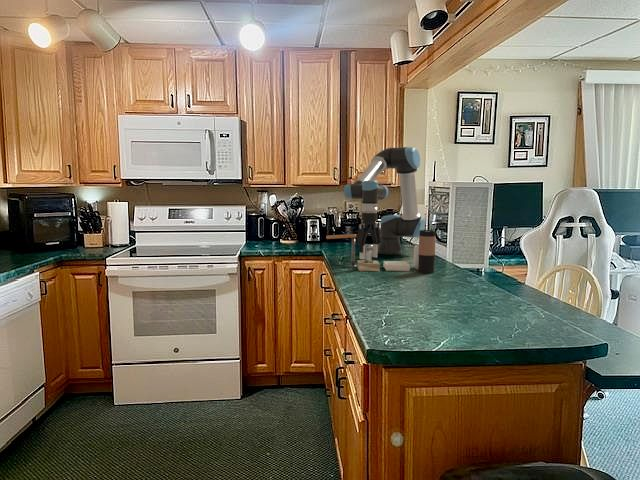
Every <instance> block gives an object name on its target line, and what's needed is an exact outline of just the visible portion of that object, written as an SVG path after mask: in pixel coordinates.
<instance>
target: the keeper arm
mask: <svg viewBox="0 0 640 480" xmlns="http://www.w3.org/2000/svg"><path fill="white" fill-rule="evenodd" d="M325 236H326V237H325V238H326V239H327V240H331V239H348V238H349V239H352V238H357V233H350V234H335V235H333V234H332V235H325ZM326 239H325V240H326Z"/></svg>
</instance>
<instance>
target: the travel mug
mask: <svg viewBox="0 0 640 480" xmlns="http://www.w3.org/2000/svg"><path fill="white" fill-rule="evenodd" d="M436 232H437V231H435V230H432V229H424V230H420V234H419V238H418V239H419V240H418V245H419V268H418V269H417V270H418V273H420V274H423V275H424V274H428V275H429V274H430V275H431V274H434V273H435V272H434V271H435V258H436V237H437V236H436Z"/></svg>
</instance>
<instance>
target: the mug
mask: <svg viewBox="0 0 640 480" xmlns="http://www.w3.org/2000/svg"><path fill="white" fill-rule="evenodd" d="M413 267H414V269H416V270H419V269H418V268H419V244H418V245H417V244H416V245H414V246H413Z"/></svg>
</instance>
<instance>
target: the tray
mask: <svg viewBox="0 0 640 480" xmlns="http://www.w3.org/2000/svg"><path fill="white" fill-rule="evenodd" d="M382 264H383V269H385V271H386V272H410V271H411V267H410V266H411V265H410V264H409V263H408V262H407V261H405V260H404V261H401V260H400V261H399V260H398V261H396V260H383V263H382Z"/></svg>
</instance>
